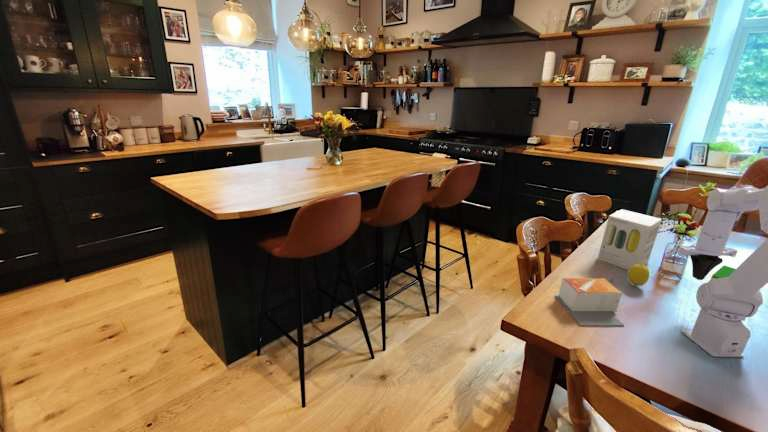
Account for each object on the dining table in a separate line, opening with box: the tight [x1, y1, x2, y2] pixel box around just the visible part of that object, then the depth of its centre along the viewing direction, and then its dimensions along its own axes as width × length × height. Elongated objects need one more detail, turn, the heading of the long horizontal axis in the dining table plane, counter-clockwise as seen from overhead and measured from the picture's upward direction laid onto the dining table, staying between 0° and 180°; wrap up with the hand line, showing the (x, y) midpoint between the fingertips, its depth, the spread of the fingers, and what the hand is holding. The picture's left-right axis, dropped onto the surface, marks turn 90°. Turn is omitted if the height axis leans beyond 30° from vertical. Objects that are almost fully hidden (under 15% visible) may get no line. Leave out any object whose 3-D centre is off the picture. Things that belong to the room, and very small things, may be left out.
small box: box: [558, 277, 623, 312], centre depth 103 cm, size 8×6×13 cm
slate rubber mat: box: [554, 295, 625, 327], centre depth 102 cm, size 14×12×1 cm
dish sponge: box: [710, 265, 737, 280], centre depth 122 cm, size 7×14×2 cm, turn 125°
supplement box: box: [597, 208, 663, 271], centre depth 130 cm, size 13×13×18 cm
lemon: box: [627, 264, 650, 287], centre depth 115 cm, size 6×6×8 cm
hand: (697, 278), depth 101 cm, fingers closed
